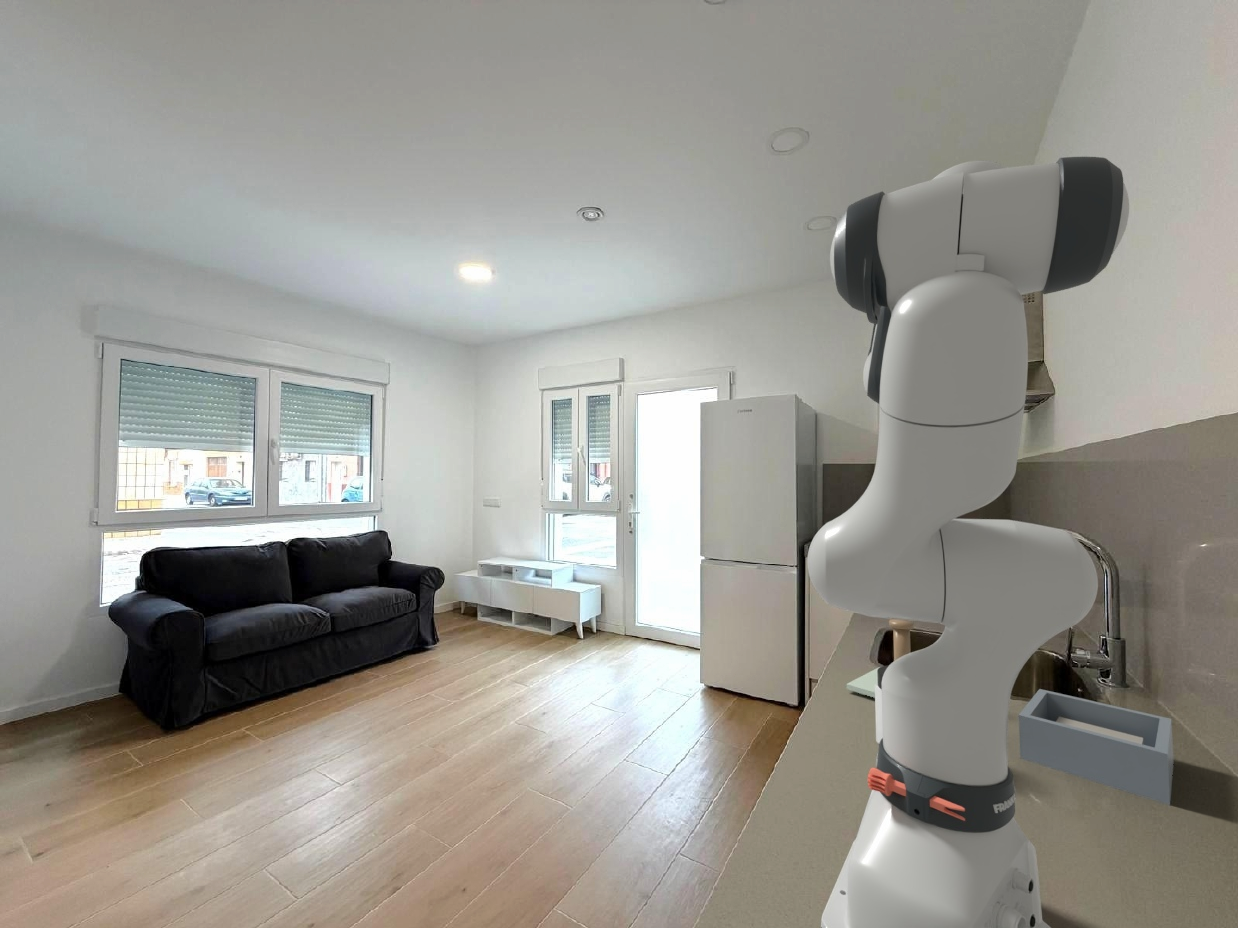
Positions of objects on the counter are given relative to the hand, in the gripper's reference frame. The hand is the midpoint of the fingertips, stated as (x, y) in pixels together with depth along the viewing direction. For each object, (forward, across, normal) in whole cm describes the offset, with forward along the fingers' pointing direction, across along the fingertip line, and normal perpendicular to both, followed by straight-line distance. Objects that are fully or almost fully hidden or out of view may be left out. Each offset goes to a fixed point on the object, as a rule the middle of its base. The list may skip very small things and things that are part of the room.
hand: (957, 507), depth 86 cm
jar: (+39, -8, +6) cm, 41 cm away
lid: (+39, +15, +15) cm, 45 cm away
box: (+40, +10, -15) cm, 43 cm away
